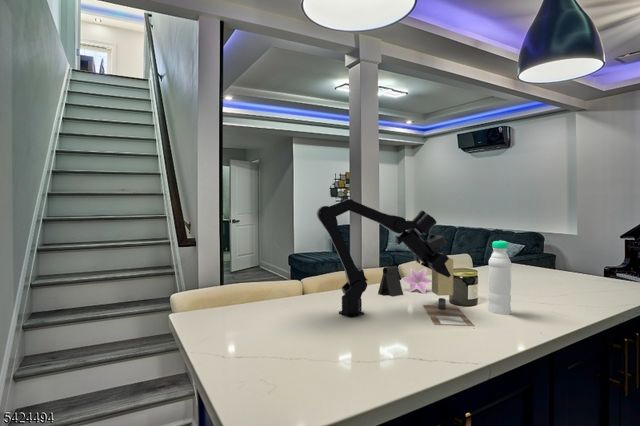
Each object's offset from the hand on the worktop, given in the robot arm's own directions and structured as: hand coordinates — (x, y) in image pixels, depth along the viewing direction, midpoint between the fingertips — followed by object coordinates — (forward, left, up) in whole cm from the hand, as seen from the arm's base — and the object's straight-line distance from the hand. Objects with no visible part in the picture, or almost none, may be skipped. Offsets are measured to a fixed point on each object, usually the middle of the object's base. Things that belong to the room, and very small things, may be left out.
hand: (446, 274), depth 126 cm
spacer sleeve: (-1, +1, -7) cm, 7 cm away
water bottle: (+12, -13, -13) cm, 22 cm away
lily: (+17, +24, -13) cm, 32 cm away
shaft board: (-6, -4, -13) cm, 15 cm away
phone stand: (+2, +27, -13) cm, 30 cm away
